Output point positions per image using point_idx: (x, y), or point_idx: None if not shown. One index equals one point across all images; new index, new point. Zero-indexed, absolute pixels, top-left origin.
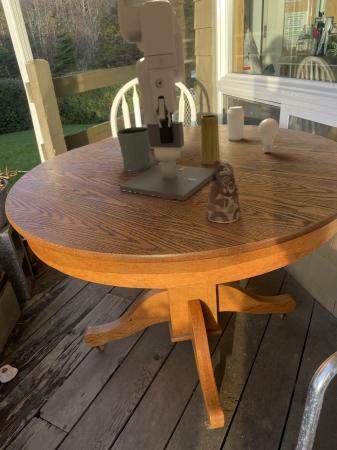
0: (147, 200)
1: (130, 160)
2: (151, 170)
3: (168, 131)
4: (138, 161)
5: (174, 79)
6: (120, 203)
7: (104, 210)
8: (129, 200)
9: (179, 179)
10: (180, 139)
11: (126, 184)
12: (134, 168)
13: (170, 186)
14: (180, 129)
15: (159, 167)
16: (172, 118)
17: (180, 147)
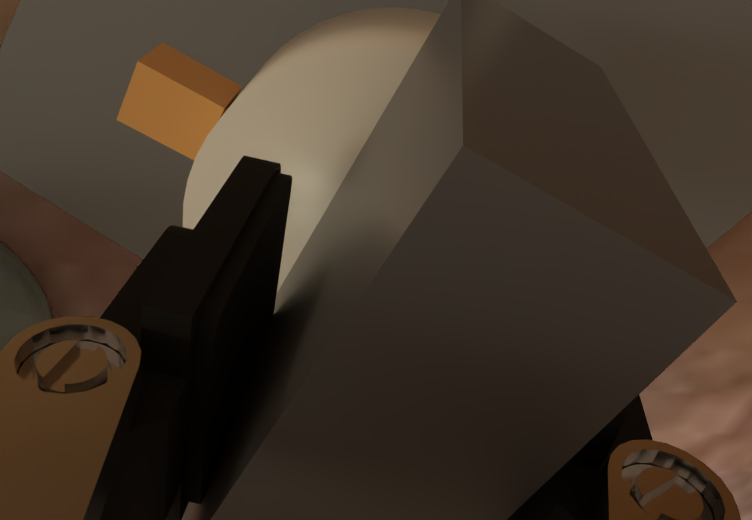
0: (732, 282)
1: None
2: (161, 232)
3: (646, 426)
4: (3, 344)
5: None
6: (684, 431)
7: (743, 503)
8: (662, 384)
9: (512, 2)
10: (610, 105)
11: None
12: None
13: (666, 113)
14: (621, 169)
15: (83, 157)
16: (27, 404)
17: (601, 71)
